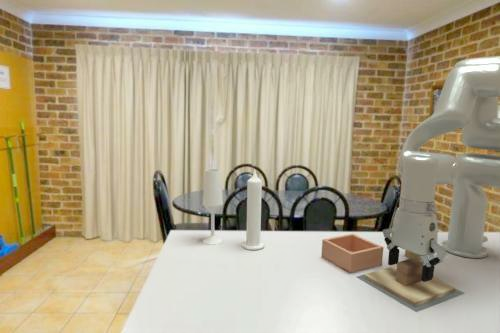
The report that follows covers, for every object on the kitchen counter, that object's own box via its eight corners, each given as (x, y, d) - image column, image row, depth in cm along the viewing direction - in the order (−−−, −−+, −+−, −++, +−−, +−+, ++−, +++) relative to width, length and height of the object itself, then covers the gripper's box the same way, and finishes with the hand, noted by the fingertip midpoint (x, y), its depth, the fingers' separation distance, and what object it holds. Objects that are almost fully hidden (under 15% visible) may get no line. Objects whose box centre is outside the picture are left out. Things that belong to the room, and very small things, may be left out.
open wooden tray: (351, 251, 110) (352, 233, 109) (381, 267, 99) (383, 247, 98) (321, 258, 104) (322, 239, 103) (350, 275, 93) (351, 254, 93)
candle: (238, 248, 110) (239, 170, 106) (247, 240, 117) (248, 167, 113) (259, 252, 108) (261, 172, 104) (267, 244, 114) (269, 169, 110)
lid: (403, 267, 98) (405, 246, 97) (455, 291, 85) (458, 268, 84) (364, 278, 91) (366, 256, 90) (414, 306, 78) (417, 281, 77)
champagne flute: (226, 240, 117) (227, 170, 113) (212, 246, 112) (212, 172, 108) (213, 235, 121) (213, 167, 117) (198, 240, 116) (198, 170, 112)
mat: (401, 265, 100) (402, 263, 100) (464, 295, 84) (465, 293, 84) (355, 278, 92) (355, 276, 92) (416, 314, 76) (416, 312, 76)
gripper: (460, 213, 79) (451, 284, 82) (396, 196, 94) (391, 256, 97) (439, 217, 75) (431, 291, 78) (377, 199, 90) (371, 261, 93)
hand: (409, 271), depth 87 cm, fingers open, 9 cm apart
